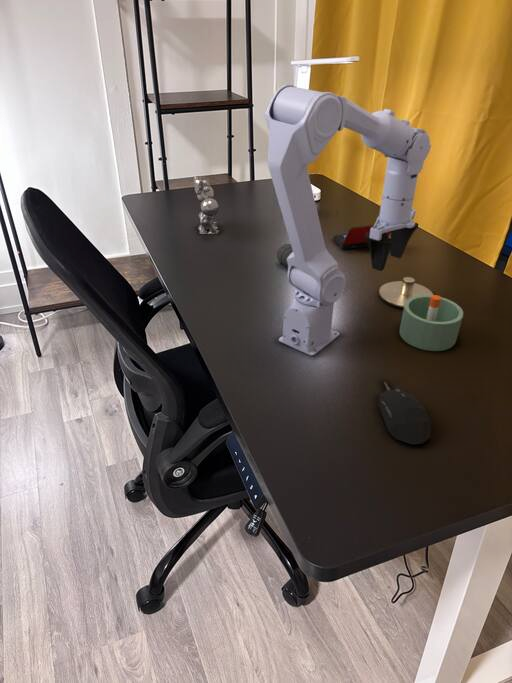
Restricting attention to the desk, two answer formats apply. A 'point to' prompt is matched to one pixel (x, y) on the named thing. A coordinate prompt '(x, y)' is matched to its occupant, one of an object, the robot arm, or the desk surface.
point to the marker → (433, 307)
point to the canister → (430, 324)
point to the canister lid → (402, 291)
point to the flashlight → (284, 254)
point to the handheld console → (354, 237)
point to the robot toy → (206, 205)
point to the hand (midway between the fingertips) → (386, 262)
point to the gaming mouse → (404, 416)
